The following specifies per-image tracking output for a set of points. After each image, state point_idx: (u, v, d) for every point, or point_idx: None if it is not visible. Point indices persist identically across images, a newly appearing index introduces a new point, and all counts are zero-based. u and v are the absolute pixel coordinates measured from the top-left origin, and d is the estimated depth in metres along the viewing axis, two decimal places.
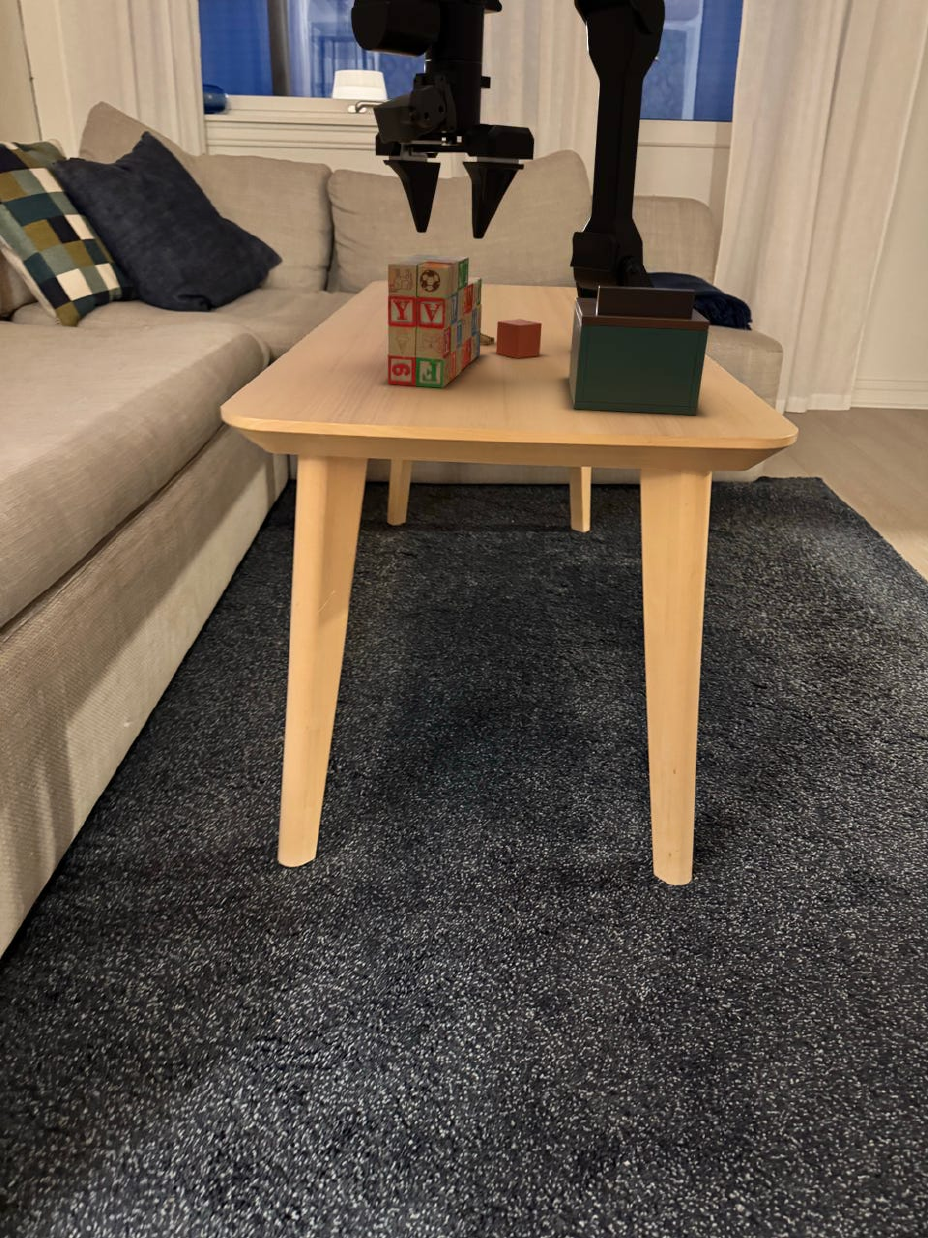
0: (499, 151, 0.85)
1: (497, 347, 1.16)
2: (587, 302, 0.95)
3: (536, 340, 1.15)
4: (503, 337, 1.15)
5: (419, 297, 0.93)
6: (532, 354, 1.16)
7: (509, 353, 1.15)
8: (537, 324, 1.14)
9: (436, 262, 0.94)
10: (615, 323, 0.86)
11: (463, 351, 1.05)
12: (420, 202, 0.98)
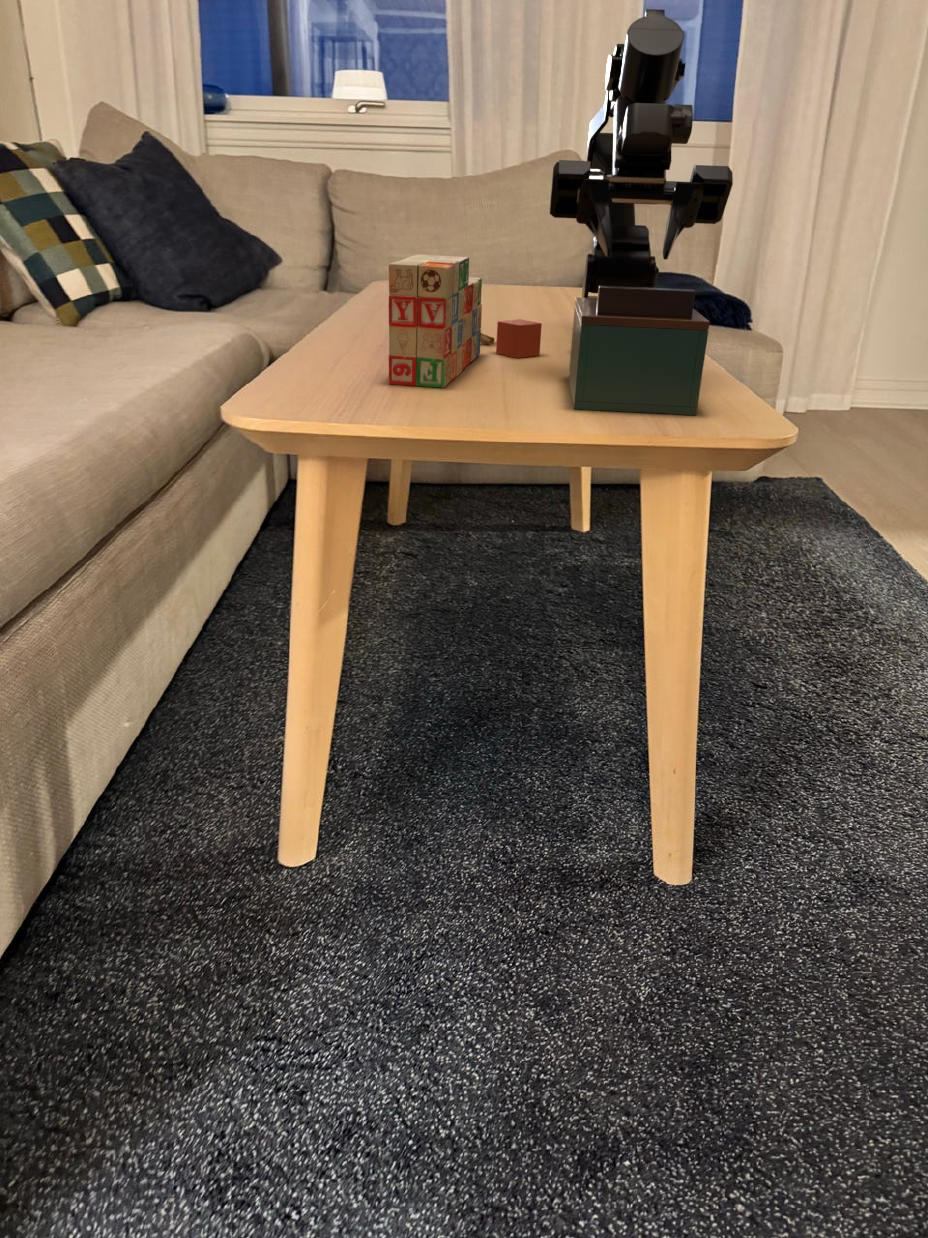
0: None
1: (497, 347, 1.16)
2: (587, 302, 0.95)
3: (536, 340, 1.15)
4: (503, 337, 1.15)
5: (419, 297, 0.93)
6: (532, 354, 1.16)
7: (509, 353, 1.15)
8: (537, 324, 1.14)
9: (437, 262, 0.94)
10: (615, 323, 0.86)
11: (463, 351, 1.05)
12: None
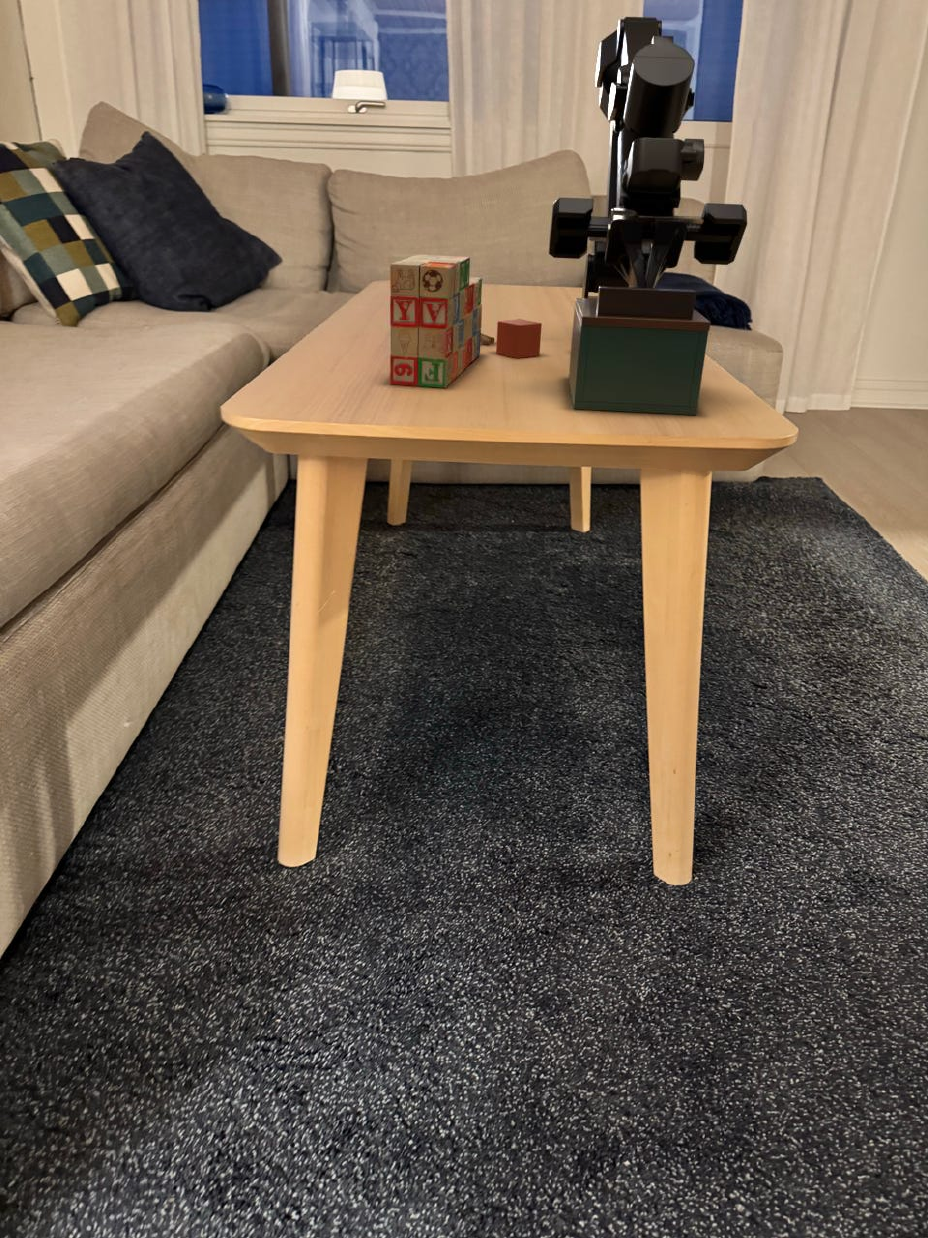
0: None
1: (497, 347, 1.16)
2: (587, 303, 0.95)
3: (536, 340, 1.15)
4: (503, 337, 1.15)
5: (421, 297, 0.93)
6: (532, 354, 1.16)
7: (509, 353, 1.15)
8: (537, 324, 1.14)
9: (438, 262, 0.94)
10: (615, 324, 0.85)
11: (464, 351, 1.05)
12: None
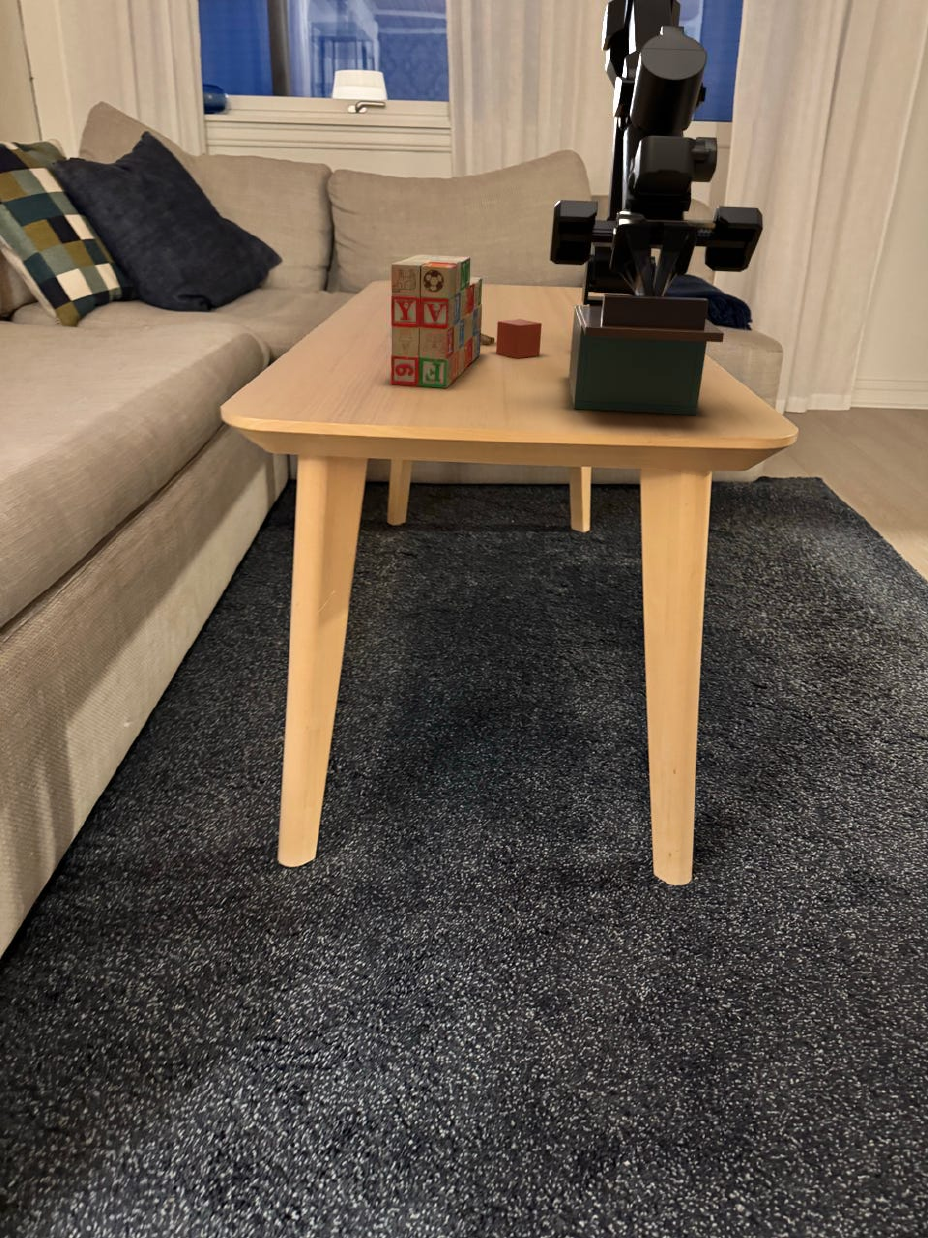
0: None
1: (497, 347, 1.16)
2: (591, 311, 0.89)
3: (536, 340, 1.15)
4: (503, 337, 1.15)
5: (422, 297, 0.93)
6: (532, 354, 1.16)
7: (509, 353, 1.15)
8: (537, 324, 1.14)
9: (439, 262, 0.94)
10: (622, 335, 0.79)
11: (465, 351, 1.05)
12: None
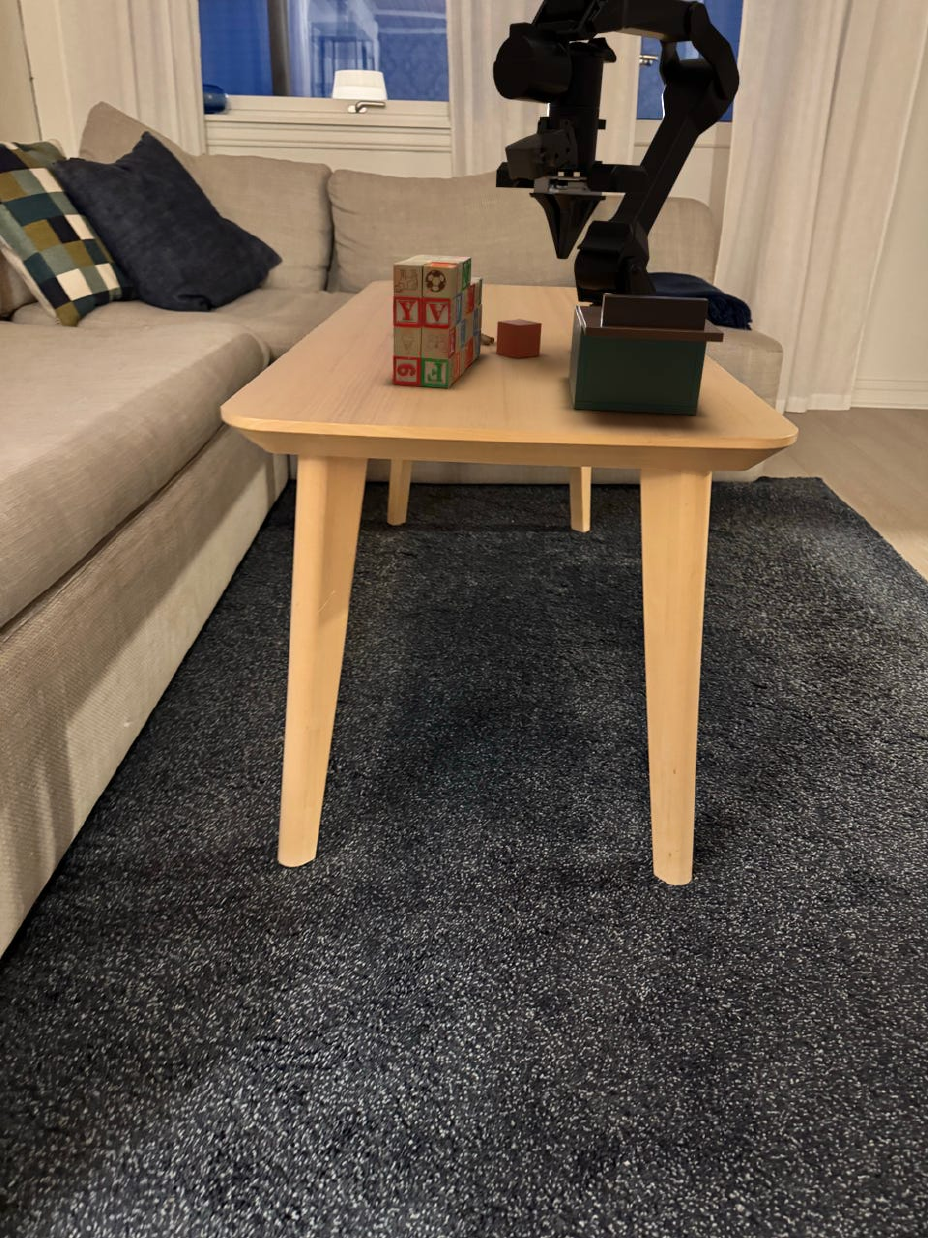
0: (619, 187, 0.96)
1: (497, 347, 1.16)
2: (591, 311, 0.89)
3: (536, 340, 1.15)
4: (503, 337, 1.15)
5: (424, 297, 0.93)
6: (532, 354, 1.16)
7: (509, 353, 1.15)
8: (537, 324, 1.14)
9: (441, 262, 0.94)
10: (622, 335, 0.79)
11: (466, 351, 1.05)
12: None
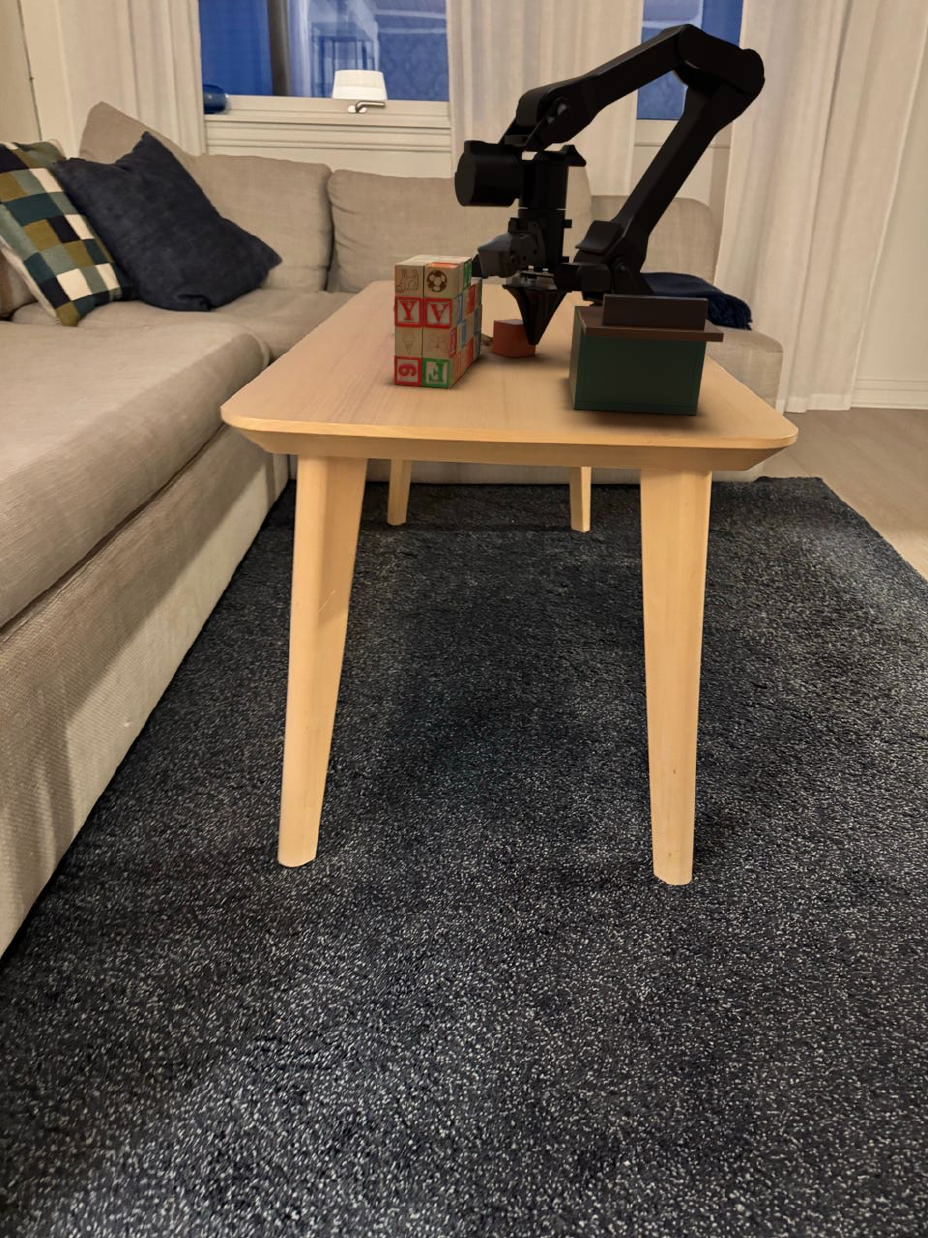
0: (584, 286, 1.03)
1: (493, 346, 1.17)
2: (591, 311, 0.89)
3: None
4: (499, 336, 1.15)
5: (425, 297, 0.93)
6: (528, 353, 1.16)
7: (505, 352, 1.15)
8: None
9: (442, 262, 0.94)
10: (622, 335, 0.79)
11: (466, 351, 1.05)
12: None
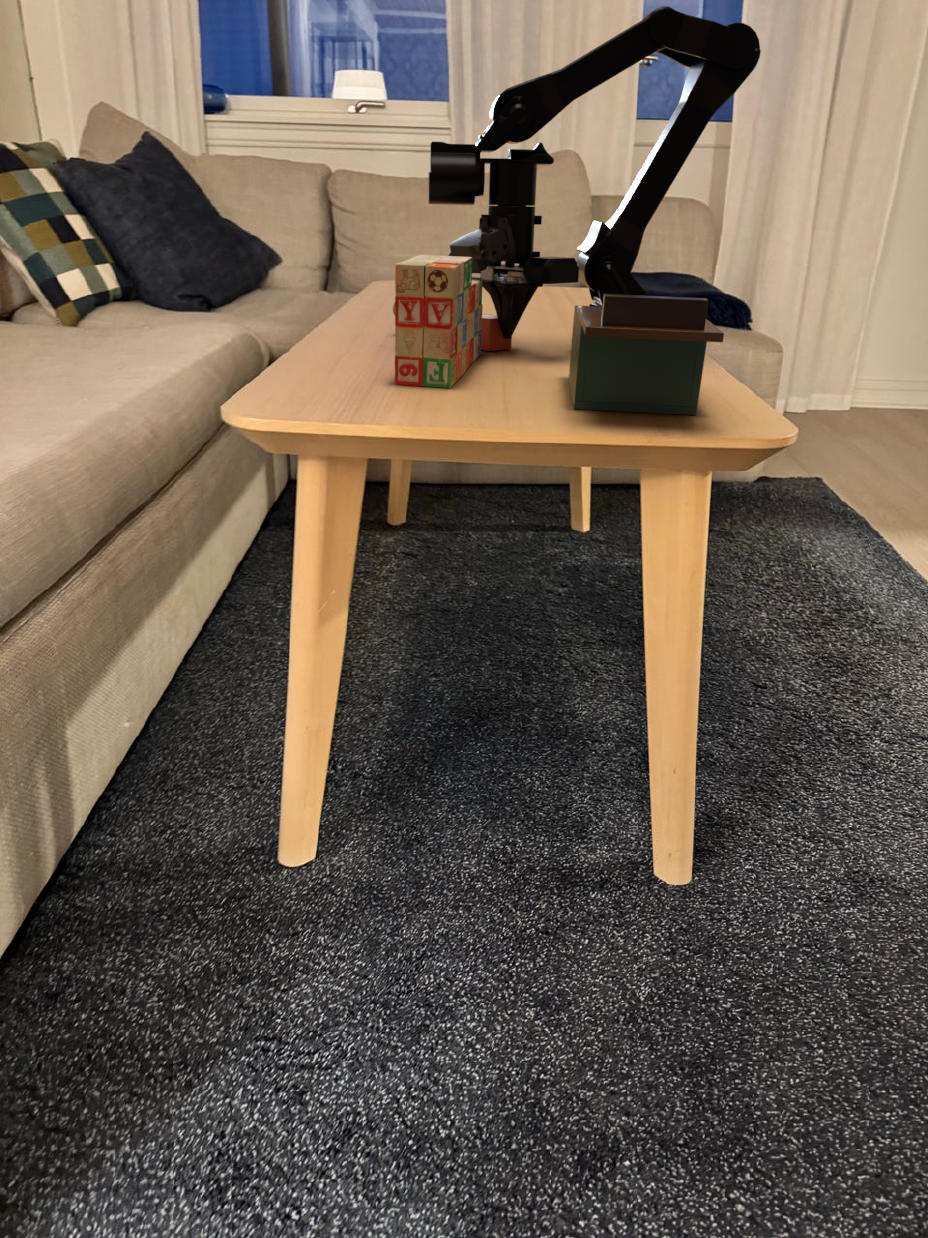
0: (552, 279, 1.06)
1: None
2: (591, 311, 0.89)
3: None
4: None
5: (426, 297, 0.93)
6: (504, 347, 1.19)
7: (481, 346, 1.18)
8: None
9: (442, 262, 0.94)
10: (622, 335, 0.79)
11: (467, 351, 1.05)
12: None
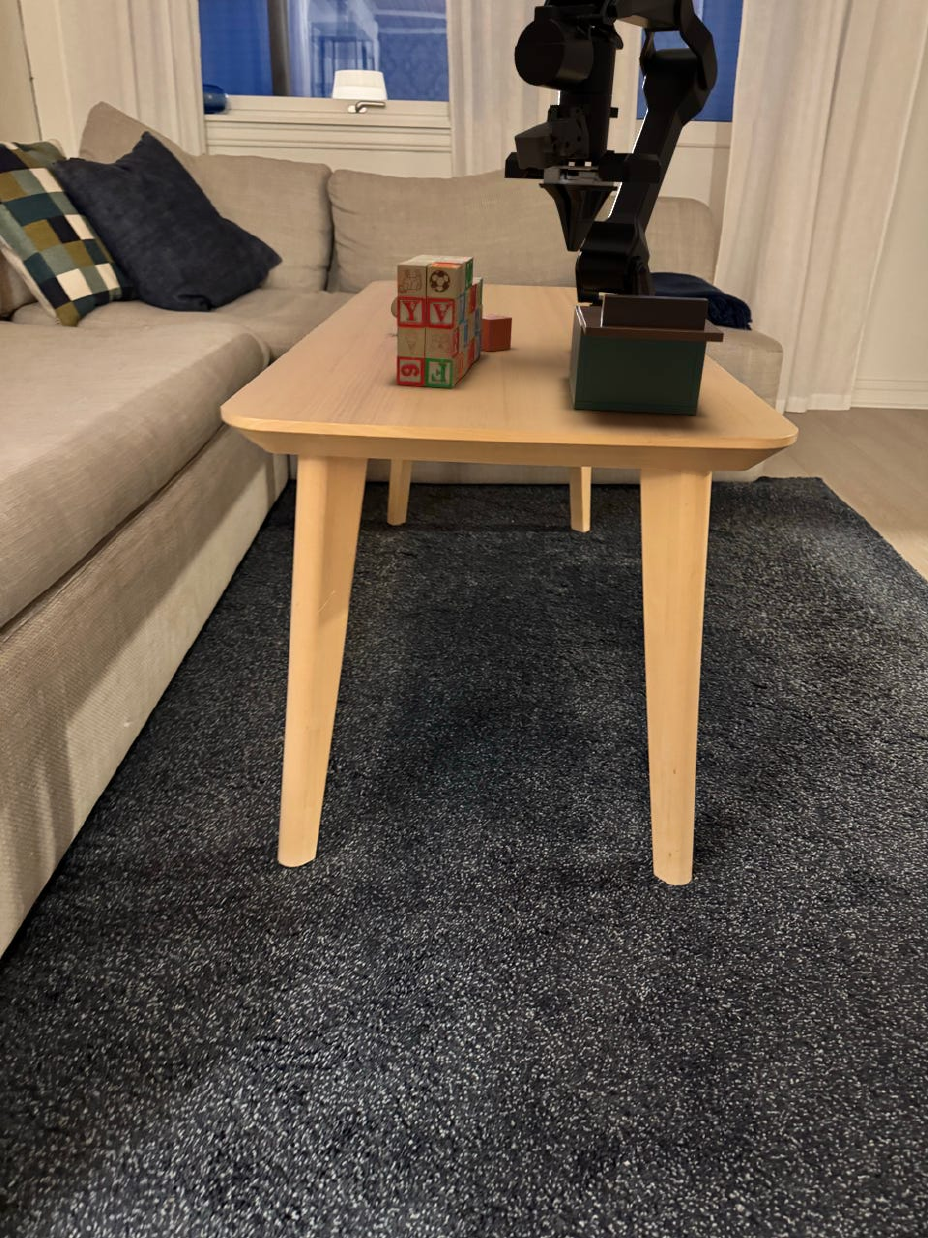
0: (632, 177, 0.93)
1: None
2: (591, 311, 0.89)
3: (507, 334, 1.19)
4: None
5: (428, 298, 0.93)
6: (503, 348, 1.19)
7: (481, 347, 1.19)
8: (507, 318, 1.18)
9: (444, 262, 0.94)
10: (622, 335, 0.79)
11: (468, 351, 1.05)
12: None
